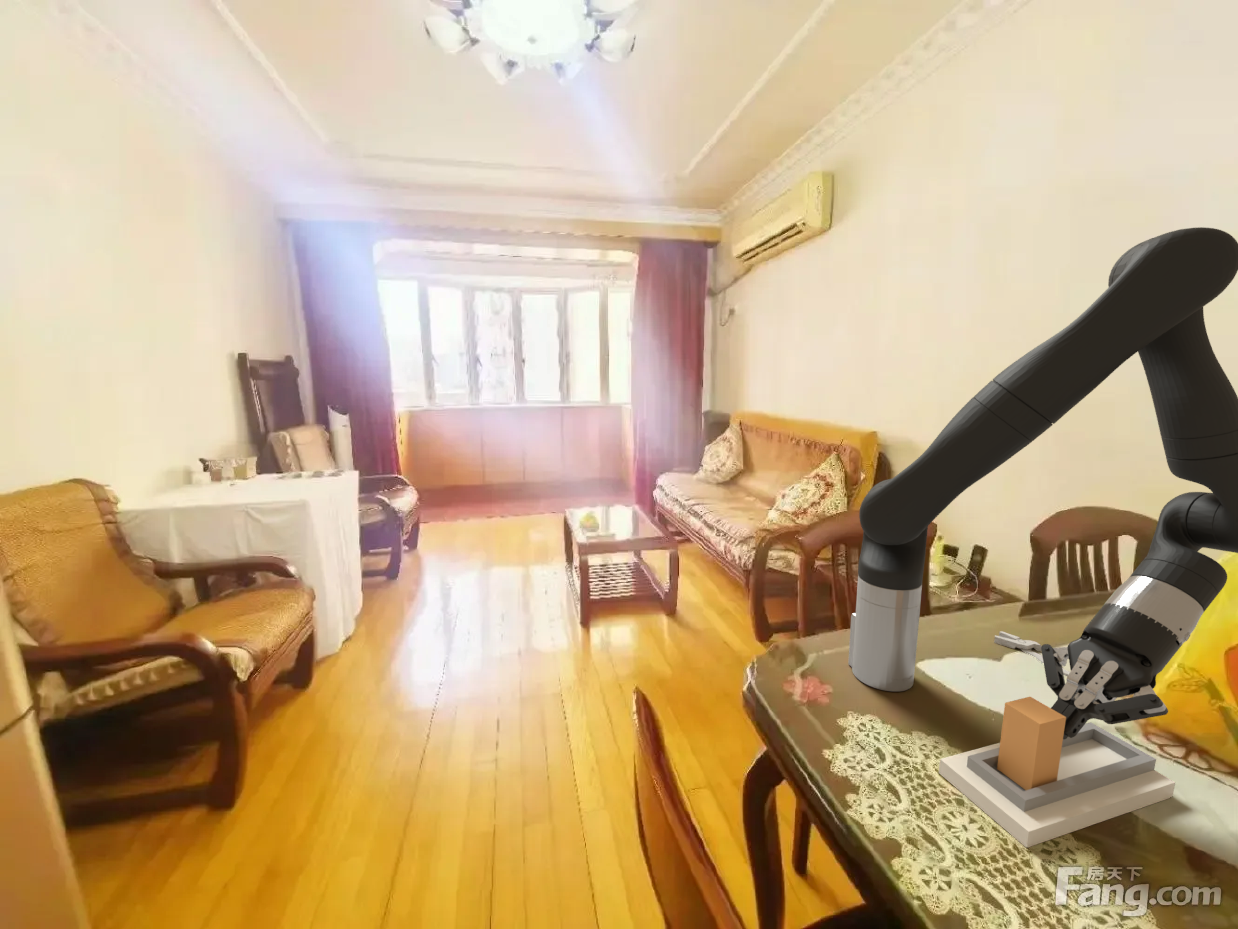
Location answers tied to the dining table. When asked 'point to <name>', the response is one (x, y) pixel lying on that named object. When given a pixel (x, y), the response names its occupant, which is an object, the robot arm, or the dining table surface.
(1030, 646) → the pliers
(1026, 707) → the switch tab
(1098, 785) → the switch board
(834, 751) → the dining table surface
